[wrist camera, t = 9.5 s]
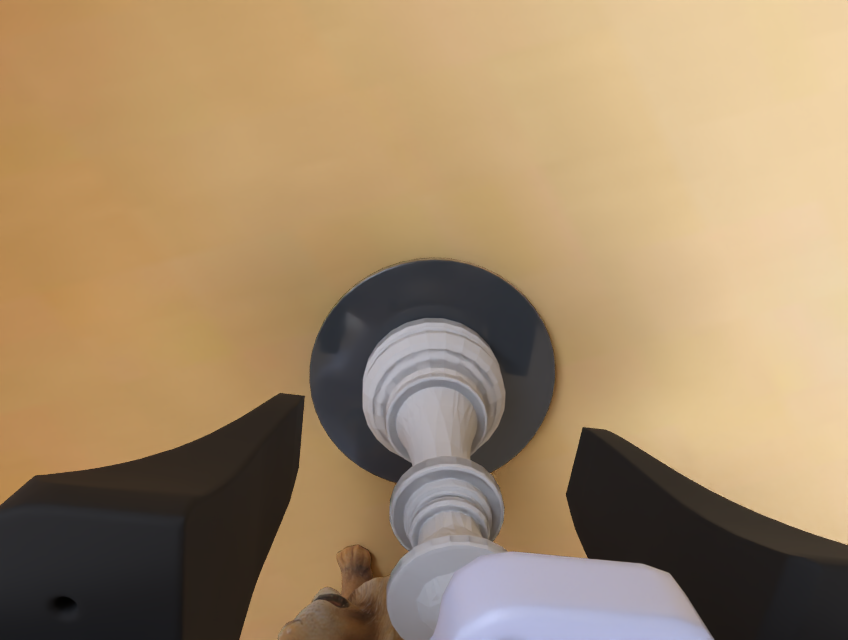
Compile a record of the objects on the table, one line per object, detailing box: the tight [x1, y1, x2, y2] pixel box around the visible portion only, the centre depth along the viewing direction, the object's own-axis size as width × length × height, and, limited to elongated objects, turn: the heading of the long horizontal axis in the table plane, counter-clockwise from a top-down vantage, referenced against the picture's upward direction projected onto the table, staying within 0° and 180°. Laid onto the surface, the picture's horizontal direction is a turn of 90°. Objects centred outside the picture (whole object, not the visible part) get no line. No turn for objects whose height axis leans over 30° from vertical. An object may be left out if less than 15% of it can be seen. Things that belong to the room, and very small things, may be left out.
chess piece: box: [363, 318, 507, 640], centre depth 13 cm, size 4×4×10 cm
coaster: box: [310, 258, 555, 483], centre depth 18 cm, size 8×8×1 cm
